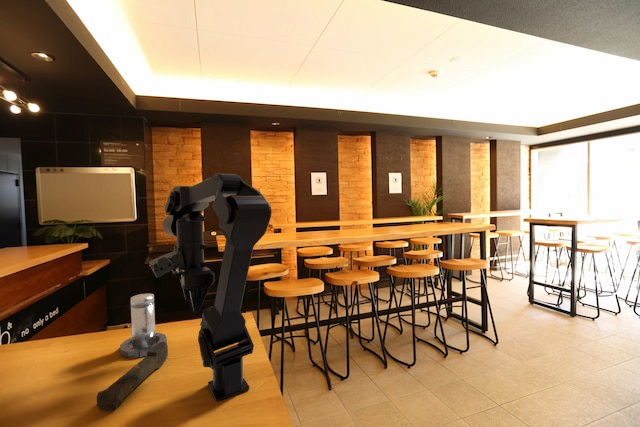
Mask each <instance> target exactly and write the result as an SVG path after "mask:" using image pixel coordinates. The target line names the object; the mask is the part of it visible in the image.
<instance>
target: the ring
mask: <svg viewBox="0 0 640 427" xmlns="http://www.w3.org/2000/svg"><path fill="white" fill-rule="evenodd" d="M155 337H156V343H155V344H153V345H151V346H149V347H144V348H138V349H133V342H132V337H129V338H128V339H126V340H124V341H123V342H122V343H120V346H119V348H120V349H119V351H120V356H121V357H124V358H126V359H140V358H145V357H146V356H147V351H148V350H149V349H150V348H152V347H154V346H155V345H156V344H158V343H160V342H166V343H167V344H168V338H167V336H166V334H165V333H162V332H161V333H160V332H155Z"/></svg>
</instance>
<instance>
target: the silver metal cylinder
mask: <svg viewBox="0 0 640 427" xmlns="http://www.w3.org/2000/svg"><path fill="white" fill-rule="evenodd" d="M155 315H156V314H155V294H153V293H140V294H135V295H134V296H131V297H130V316H131V338H132V342H133V346H132V349H138V348H144V347H149V346H151V345H153V344H155V343H157V341H156V337H155V333H156V318H155V317H156V316H155Z"/></svg>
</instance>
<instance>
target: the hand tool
mask: <svg viewBox="0 0 640 427" xmlns="http://www.w3.org/2000/svg"><path fill="white" fill-rule="evenodd" d="M168 347H169V346H168V342H167V343H166V342H160V343H158V344H156V345H155V346H154V347H152V348H150V349H149V350H148V351H147V356H144V357H143V358H142V359H141V360H140V361H139V362H138V363H136V364H135V365H134V366H133V367H131V368H130V369H129V370H128V371H127V372H126V373H124V374H123V375H122V376H121V377H119V378H118V379H117V380H116V381H114V382H113V383H112V384H111V385H110V386H108V387H107V388H106V389H104V390H103V389H102V390H101V391H97V392H98V393H97V394H96V407H97V408H98V409H99V411H103V412H114V411H116V410H117V409H118V406H119V405H122V404H123V401H124V400H125V399H126V397H127V396H129V395H130V393H132V392H133V391H134V390H135V388H137V387H138V386H139V385H141V384H142V383H143V381H145V380H146V379H147V377H149V376H150V374H152V373H153V372H154V371H159V370H160V369H161V367H162V366H163V365H164V363H165V362H166V360H167V359H168V356H169V350H168V349H169V348H168Z"/></svg>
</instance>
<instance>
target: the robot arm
mask: <svg viewBox="0 0 640 427" xmlns="http://www.w3.org/2000/svg"><path fill="white" fill-rule="evenodd" d="M211 202H213V205H212V209H213V211H214V213H215V215H216V216H217V218H218V219H219V222H218V226H219V227H218V228H220V231H221V232H222V234H223V237H224V238H225V245H224V250H223V254H222V255H223V256H222V261H221V267H220V272H219V278H218V284H217V289H216V296H215V300H214V305H211V306H209V307H208V306H207V307H205V308H204V309H203V311H202V312H201V314H202V315H201V321H200V324H199V326H200V330H199V331H198V335H197V341H198V346H199V351H200V357H201V360H202V367H204V368H210V369H211V370H212V380H209V381H208V382H207V386H208V388H209V390H210V393H211V394H212V395H213V396H212V397H213V398H214V400H215V401H216V402H221V401H222V400H223V401H224V400H225V399H228V398H230V397H234V396H235V395H238V394H241V393H243V392H246V391H249V390H250V385H249V384H248V381H246V379H245V378H244V357H246V356H249V355H252V354H253V352H254V347H255V346H254V345H255V344H254V342H253V340H252V337H251V335H250V333H249V330H248V329H247V328H248V327H247V326H246V324H247V322H246V318H245V316H243V313H242V312H241V308H242V303H243V297H244V294H245V289H246V285H247V284H246V283H247V279H248V275H249V270H250V264H251V261H252V256H253V251H254V247H255V246H256V245H257V243H258V242H259V241H260V240H261V239H262V238H263V236H264V235H265V234H266V232H267V230H268V227H269V224H270V221H271V218H272V211H273V210H272V207H271V204H270V203H269V202H268V200H267V199H266V198H265V197H264V195H263V194H262V192H261V191H259V190H258V189H256V188H255V187H253V186H251V185H250V184H249V183H247V182H246V181H244V179H243V178H242V176H240V175H238V174H236V173H222V172H221V173H214V174H212V175H211V177H208V178H207V179H204V180H203V181H202V180H201V181H200V182H198V183H196V184H193V185H190V186H189V185H176V186H174V187H172V190H171V191H170V192H169V196H168V198H167V200H166V204H165V206H164V211H165V215H166V217H165V218H164V220H163V223H162V229H163V231H164V233H165V234H166V235H168V236H171V237H174V238H176V243H175V245H174V246H173V248H174V249H173V251H171V252H168V253H165V254H163V255H160V256H158V257H156V258H154V259H151V260H150V261H148V263H149V266H150V269H151V270H152V272H153V274H154V276H155V278H160V277H162V276H164V275H165V274H167V273H169V272H172V274H173V275H174V276H175V277H176V278H178V279H179V280H180V284H181V288H182V291H183V295H184V299H185V301H187V302H189V301H191V305H192V309H193V312H194V313H199V312H200V311H201V308H202V306H203V304H204V301H205V299H206V297H207V295H208V294H209V291H210V289H211V288H212V286H213V285H214V283H215V282H216V273H215V272H214V271H213V270H211V269H210V268H209V267H207V261H205V254H204V253H205V252H204V251H205V250H206V248H207V246H206V245H207V244H205V243H204V222H205V221H206V216H204V215H203V214H202V213H203V212H204V210H205V209H207V208H208V207H209V206H210V203H211Z"/></svg>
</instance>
